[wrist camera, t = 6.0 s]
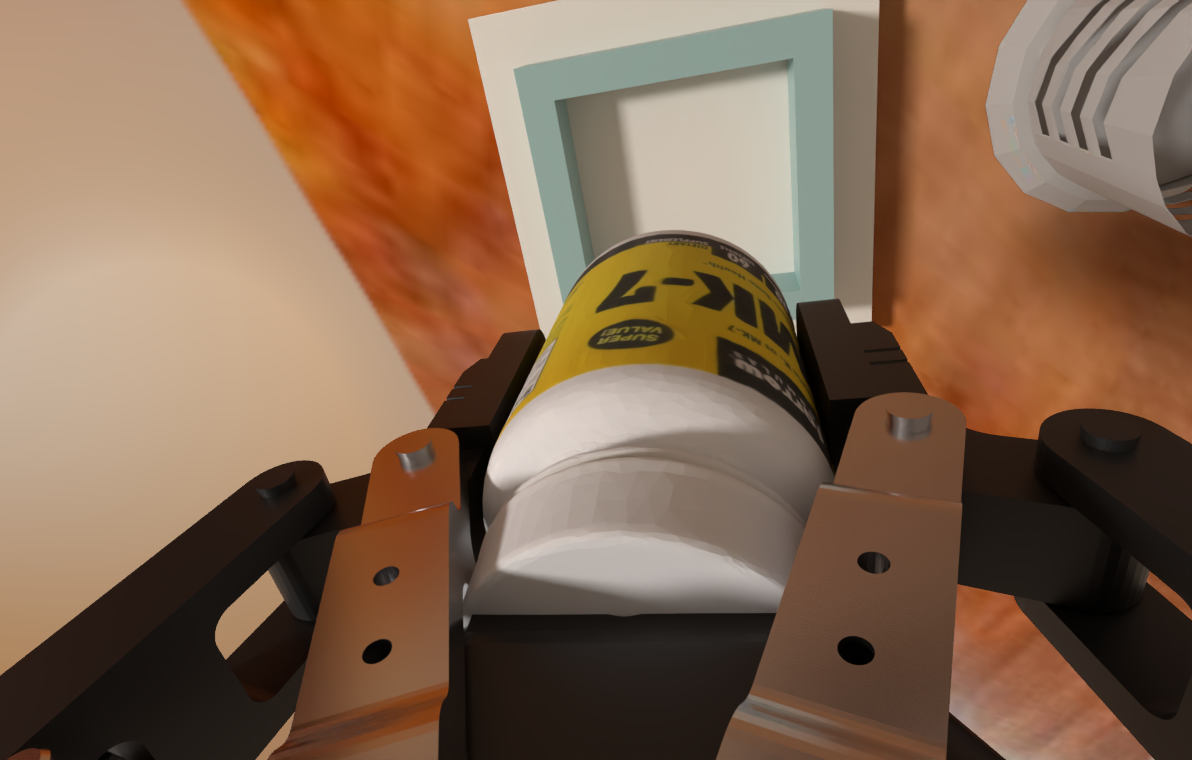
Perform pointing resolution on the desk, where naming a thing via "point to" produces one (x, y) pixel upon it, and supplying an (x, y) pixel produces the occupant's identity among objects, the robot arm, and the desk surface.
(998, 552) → the robot arm
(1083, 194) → the french press
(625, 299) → the supplement bottle
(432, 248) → the desk surface
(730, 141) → the dock socket
